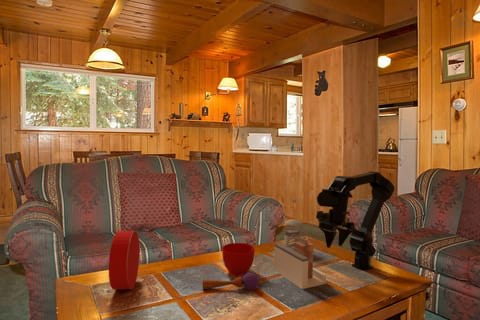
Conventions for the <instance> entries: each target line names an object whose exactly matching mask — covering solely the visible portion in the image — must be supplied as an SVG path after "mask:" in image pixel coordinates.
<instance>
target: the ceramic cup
mask: <svg viewBox="0 0 480 320" xmlns="http://www.w3.org/2000/svg"><path fill="white" fill-rule="evenodd" d="M255 249H256V248H255V246H254V245H251V244H249V243H245V242H234V243H233V242H231V243H226V244H224V245H223V246H222V249H221V252H222V261H223V263H224V267H225V269H227V271H228V272H229V273H230V274H231V275H233V276H243V275H245V274H247V273H248V271H249V270H250V269H251V267H252V265H253V263H254V260H255Z"/></svg>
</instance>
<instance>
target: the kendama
mask: <svg viewBox="0 0 480 320" xmlns="http://www.w3.org/2000/svg"><path fill="white" fill-rule="evenodd" d="M259 279H260V278H259V277H258V275H257V274H256V273H253V272H246V274H244V276H242V275H239V276H238V277H237V278H235V279H233V280H215V279H214V280H210V279H202V291H205V290H210V289H214V288H215V289H216V288H220V287H227V286H231V285H233V286H235V287H238V288H240V289H243V288H245V289H246V290H248V291H254V290H256V289H257V288H258V287H259V284H260V280H259Z"/></svg>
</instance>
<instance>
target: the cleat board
mask: <svg viewBox="0 0 480 320" xmlns="http://www.w3.org/2000/svg"><path fill="white" fill-rule="evenodd" d="M286 246H287V245H286ZM286 246H284V243H283V244H282V242H280V243H279V242H277V243H274V260H273V263H274V264H273V268H274V269H273V270H274V271H275V272H276V273H278V274H279V275H280V276H282V277H284V278H285V279H286V280H288V281H289V282H290V283H292V284H294V285H295V286H297V288H299V289H301V290H304V289H308V288H312V287H313V288H314V287H318V286H322V285H326V284H327V274H326V273H324V272H322V271H320V270H319V269H318V268H315V267H314V266H313V277H312V278H309V279H308V258H307V257H305V256H303V255H301V254H299V253H298V252H296V251H294V250H292V249H290V248H288V247H286Z"/></svg>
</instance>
